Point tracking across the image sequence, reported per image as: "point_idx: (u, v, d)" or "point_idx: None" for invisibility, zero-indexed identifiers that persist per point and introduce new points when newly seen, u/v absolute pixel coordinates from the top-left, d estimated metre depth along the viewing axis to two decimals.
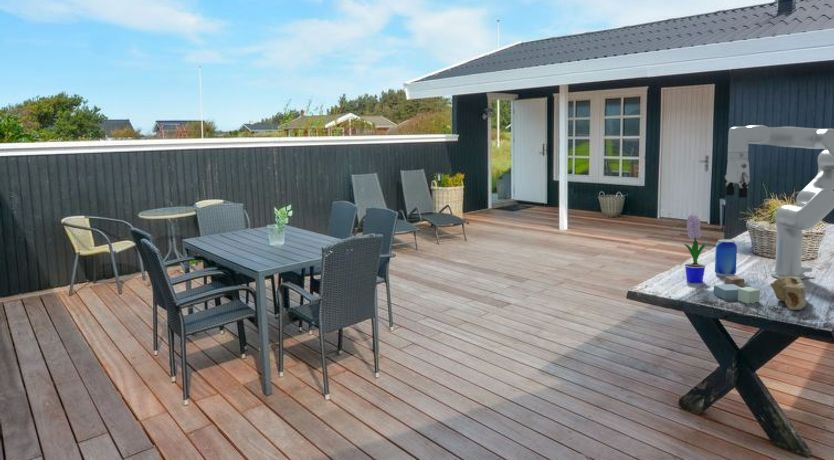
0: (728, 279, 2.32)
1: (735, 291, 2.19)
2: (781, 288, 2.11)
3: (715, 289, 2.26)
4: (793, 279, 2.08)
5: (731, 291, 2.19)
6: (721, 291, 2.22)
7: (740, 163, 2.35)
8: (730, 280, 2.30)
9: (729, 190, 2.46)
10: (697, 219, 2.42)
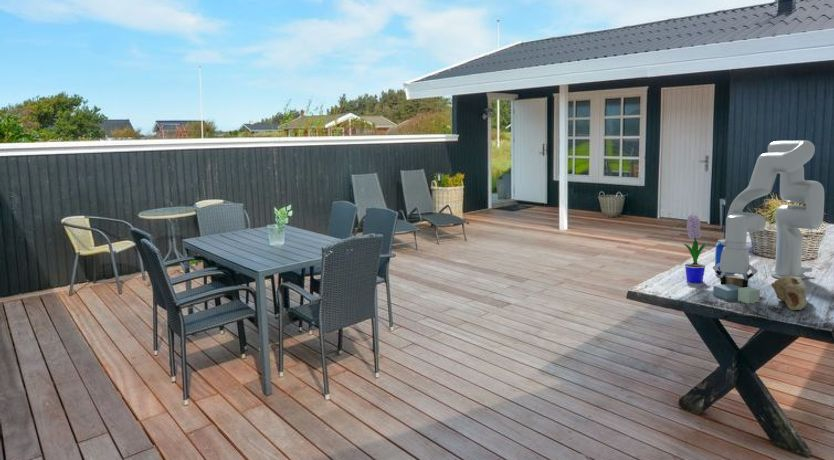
0: (728, 279, 2.32)
1: (736, 291, 2.19)
2: (782, 288, 2.11)
3: (715, 289, 2.26)
4: (794, 279, 2.08)
5: (733, 291, 2.19)
6: (722, 291, 2.21)
7: None
8: (730, 280, 2.30)
9: None
10: (697, 219, 2.42)
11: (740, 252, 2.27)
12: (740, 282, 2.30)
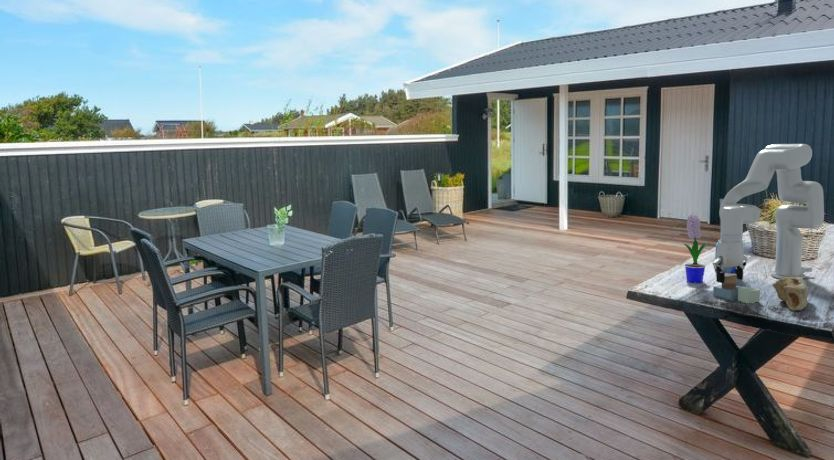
0: None
1: None
2: (783, 288, 2.11)
3: (715, 290, 2.25)
4: (795, 279, 2.08)
5: (735, 291, 2.19)
6: (725, 292, 2.21)
7: None
8: None
9: None
10: (697, 219, 2.42)
11: None
12: None
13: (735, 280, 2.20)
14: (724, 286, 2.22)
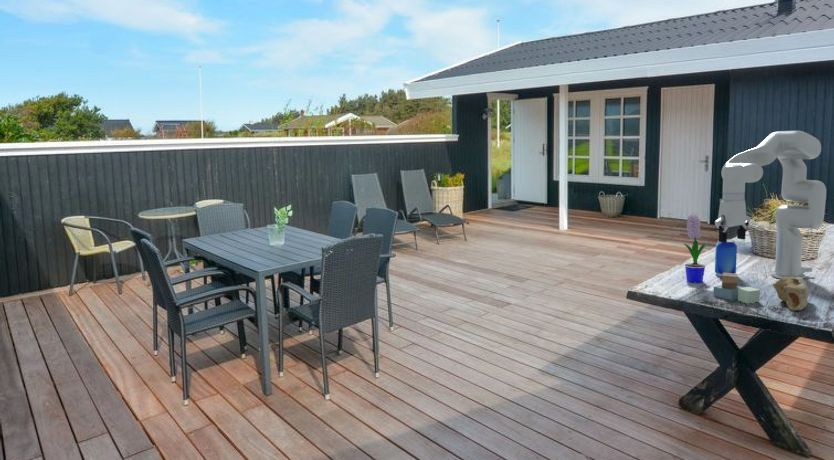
0: None
1: None
2: (783, 288, 2.11)
3: (716, 290, 2.24)
4: (795, 279, 2.08)
5: (736, 291, 2.19)
6: (725, 292, 2.20)
7: None
8: None
9: None
10: (697, 219, 2.42)
11: None
12: (722, 278, 2.23)
13: (735, 280, 2.20)
14: (724, 285, 2.22)
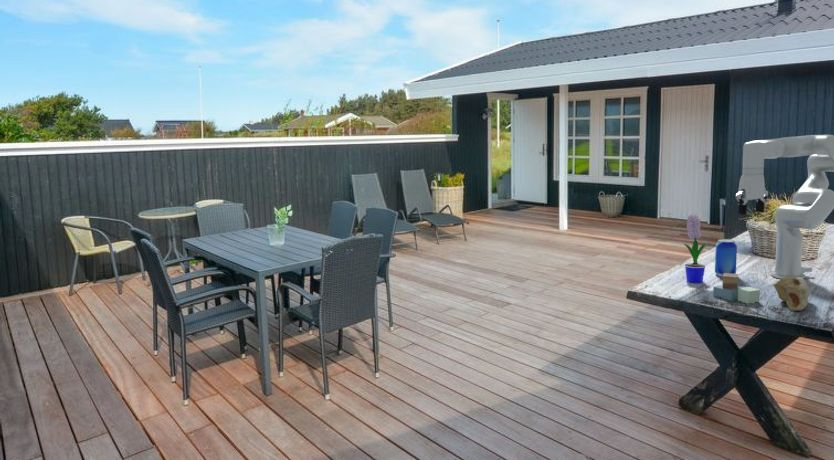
0: None
1: None
2: (783, 289, 2.11)
3: (716, 290, 2.24)
4: (795, 280, 2.07)
5: (735, 291, 2.19)
6: (725, 292, 2.20)
7: None
8: None
9: None
10: (697, 219, 2.42)
11: None
12: (723, 278, 2.23)
13: (736, 280, 2.19)
14: (725, 286, 2.22)
